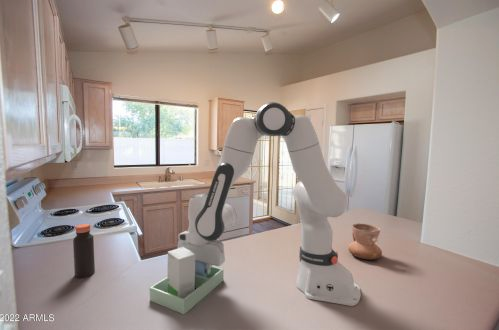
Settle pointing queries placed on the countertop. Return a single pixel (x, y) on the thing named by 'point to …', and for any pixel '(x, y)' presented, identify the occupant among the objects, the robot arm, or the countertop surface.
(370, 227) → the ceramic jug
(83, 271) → the vinegar
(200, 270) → the light blue rounded cone
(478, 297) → the countertop surface
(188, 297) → the green divided tray
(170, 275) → the skincare box
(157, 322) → the countertop surface
